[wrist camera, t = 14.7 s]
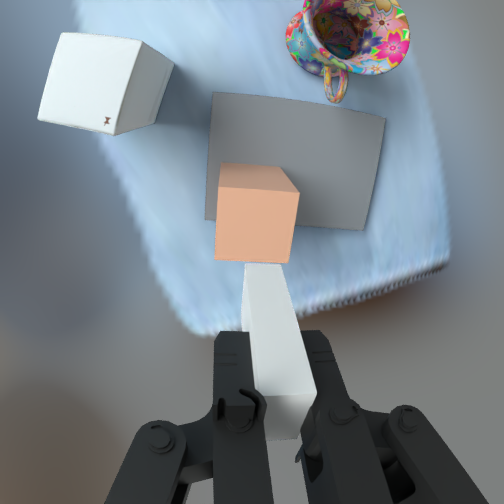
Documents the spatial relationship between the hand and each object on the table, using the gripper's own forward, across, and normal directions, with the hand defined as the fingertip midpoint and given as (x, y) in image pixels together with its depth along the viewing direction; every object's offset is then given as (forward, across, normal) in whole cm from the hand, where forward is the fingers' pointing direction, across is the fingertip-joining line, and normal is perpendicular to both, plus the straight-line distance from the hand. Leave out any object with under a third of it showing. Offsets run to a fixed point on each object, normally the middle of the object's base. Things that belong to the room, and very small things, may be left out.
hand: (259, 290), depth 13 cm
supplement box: (+23, -12, +9) cm, 27 cm away
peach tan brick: (+21, +1, -2) cm, 21 cm away
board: (+22, +6, +1) cm, 23 cm away
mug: (+23, +8, +14) cm, 28 cm away
